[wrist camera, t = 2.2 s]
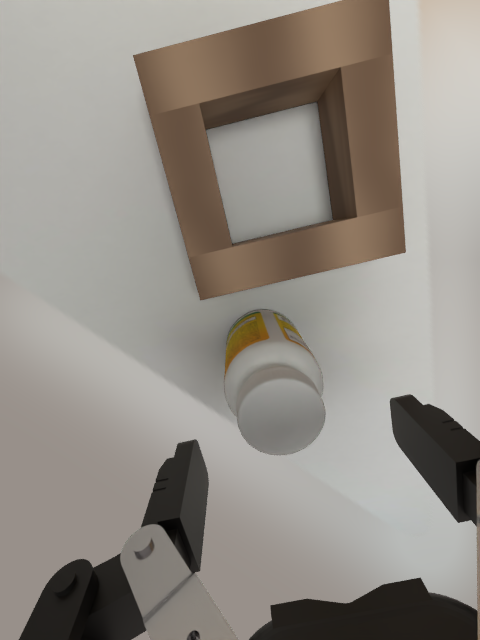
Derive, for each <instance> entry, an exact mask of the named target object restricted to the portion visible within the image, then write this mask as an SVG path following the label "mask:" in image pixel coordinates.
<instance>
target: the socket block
mask: <svg viewBox="0 0 480 640" xmlns="http://www.w3.org/2000/svg"><path fill="white" fill-rule="evenodd" d="M133 57H134V61H135V64H136V68H137V72H138V75H139V79H140V83H141V86H142V90H143V93H144V97H145V101H146V104H147V108H148V112H149V115H150V119H151V123H152V126H153V130H154V133H155V137H156V141H157V144H158V148H159V152H160V155H161V159H162V163H163V166H164V170H165V173H166V177H167V181H168V184H169V188H170V192H171V195H172V199H173V202H174V206H175V210H176V213H177V217H178V221H179V224H180V228H181V232H182V235H183V239H184V242H185V246H186V250H187V253H188V257H189V261H190V264H191V268H192V272H193V275H194V279H195V282H196V286H197V290H198V293H199V297H200V300H204V299H208V298H212V297H217V296H221V295H225V294H230V293H234V292H238V291H242V290H247V289H251V288H255V287H259V286H264V285H268V284H272V283H277V282H281V281H285V280H289V279H294V278H298V277H302V276H307V275H311V274H315V273H319V272H324V271H328V270H332V269H337V268H341V267H345V266H349V265H354V264H358V263H362V262H367V261H371V260H375V259H379V258H384V257H388V256H392V255H397V254H401V253H405V252H406V249H405V234H404V219H403V204H402V189H401V174H400V159H399V144H398V129H397V114H396V99H395V85H394V70H393V55H392V40H391V25H390V10H389V0H342V1H338V2H335V3H331V4H327V5H323V6H319V7H315V8H312V9H308V10H304V11H300V12H296V13H293V14H289V15H285V16H281V17H277V18H274V19H270V20H266V21H262V22H258V23H255V24H251V25H247V26H243V27H239V28H236V29H232V30H228V31H224V32H220V33H217V34H213V35H209V36H205V37H201V38H198V39H194V40H190V41H186V42H182V43H179V44H175V45H171V46H167V47H163V48H160V49H156V50H152V51H148V52H144V53H141V54H137V55H133ZM313 102H318V110H319V117H320V125H321V132H322V140H323V147H324V155H325V163H326V170H327V178H328V185H329V193H330V200H331V208H332V216H333V220H330V221H326V222H322V223H318V224H313V225H309V226H305V227H301V228H297V229H293V230H288V231H284V232H280V233H276V234H272V235H267V236H263V237H259V238H255V239H251V240H246V241H242V242H238V243H234V244H232V242H231V238H230V234H229V229H228V225H227V221H226V216H225V212H224V208H223V203H222V199H221V195H220V190H219V186H218V182H217V177H216V173H215V169H214V164H213V160H212V156H211V151H210V147H209V143H208V138H207V134H206V129H210V128H214V127H218V126H222V125H226V124H230V123H234V122H238V121H241V120H245V119H249V118H253V117H257V116H261V115H265V114H269V113H273V112H277V111H281V110H285V109H289V108H293V107H297V106H301V105H305V104H309V103H313Z"/></svg>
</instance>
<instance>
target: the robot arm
mask: <svg viewBox="0 0 480 640" xmlns="http://www.w3.org/2000/svg"><path fill="white" fill-rule="evenodd" d="M390 409H391V418H392V428H393V434H394V437H395V440H396V442H397V444H398V445H399V447H400V448H401V450H402V451H403V452H404V453H405V455H406V456H407V457H408V459H409V460H410V461H411V463H412V464H413V465H414V466H415V468H416V469H417V470H418V472H419V473H420V474H421V475H422V477H423V478H424V479H425V481H426V482H427V483H428V485H429V486H430V487H431V488H432V490H433V491H434V492H435V494H436V495H437V496H438V497H439V499H440V500H441V501H442V502H443V504H444V505H445V507H446V508H447V509H448V510H449V512H450V513H451V514H452V515H453V517H454V518H455V519H456V521H457V522H458V523H459V522H464V521H469V520H472V522H473V523H474V524H475V525H476V526H477V596H478V598H477V603H478V611H477V610H475V609H474V608H472V607H470V606H468V605H466V604H464V603H462V602H460V601H458V600H455V599H453V598H450V597H447V596H443V595H440V594H435V593H429V592H428V591H427V589H426V587H425V585H424V583H423V582H422V580H421V578H416V579H411V580H406V581H400V582H394V583H389V584H384V585H381V586H380V587H378V588H376V589H374V590H372V591H371V592H369V593H367V594H365V595H364V596H362V597H360V598H358V599H356V600H355V601H353V602H351V603H346V604H345V603H336V602H328V601H320V600H312V599H303V600H297V601H293V602H287V603H281V604H276V605H271V616H272V621H270V622H268V623H267V624H265V625H264V626H263V627H262V628H260V629H259V630H258V631H257V632H256V633H255V634H254V635H253V636H252V637H251V638H250V639H249V640H480V441H479V440H478V439H476V438H475V437H474V436H473V435H472V434H470V433H469V432H468V431H467V430H466V429H463V427H462V426H461V425H460V424H459V423H458V422H456V421H454V419H453V418H451V417H450V416H449V415H448V414H447V413H446V412H444V411H443V410H441V409H439V408H437V407H434V406H432V405H430V404H427V405H423V404H421V403H420V402H419V401H418V400H417V399H416V398H415V397H414V396H413V395H410V394H409V395H405V396H400V397H395V398H391V399H390ZM208 485H209V482H208V473H207V469H206V465H205V462H204V459H203V456H202V453H201V450H200V447H199V444H198V441H197V440H191V441H187V442H182V443H178V445H177V448H176V452H175V456H174V458H169V459H167V460H166V461H165V462H164V464H163V465H162V466H161V468H160V469H159V472H158V475H157V478H156V483H155V484H154V488H153V493H152V494H151V498H150V500H149V503H148V507H147V510H146V513H145V516H144V519H143V523H142V526H141V528H140V529H139V530H137V531H136V532H135V533H133V534H132V535H131V536H130V538H129V539H128V540H127V541H126V543H125V544H124V546H123V548H122V551H121V553H120V554H119V555H117V556H115V557H113V558H112V559H110V560H108V561H106V562H104V563H102V564H100V565H98V566H96V567H94V568H93V567H92V565H91V563H90V562H89V561H88V560H85V559H79V560H75V561H73V562H71V563H69V564H67V565H65V566H64V567H62V568H61V569H60V570H59V571H58V572H57V573H56V574H55V575H54V576H53V577H52V578H51V579H50V580H49V582H48V583H47V585H46V586H45V588H44V590H43V591H42V593H41V596H40V598H39V600H38V602H37V604H36V606H35V608H34V610H33V612H32V614H31V616H30V618H29V620H28V622H27V624H26V626H25V628H24V631H23V632H22V634H21V637H20V639H19V640H131V639H133V638H135V637H136V636H138V635H139V634H141V633H143V632H145V631H146V630H147V633H148V635H149V638H150V640H239V639H238V637H237V636H236V634H235V633H234V631H233V630H232V629H231V627H230V625H229V624H228V622H227V620H226V619H225V617H224V616H223V614H222V613H221V611H220V610H219V608H218V607H217V605H216V604H215V602H214V600H213V599H212V597H211V596H210V594H209V593H208V592H207V590H206V588H205V587H204V585H203V583H202V582H201V580H200V579H199V577H198V576H197V575H196V574H195V572H198V571H200V565H201V556H202V546H203V536H204V525H205V515H206V505H207V495H208Z"/></svg>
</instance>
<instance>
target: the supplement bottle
mask: <svg viewBox="0 0 480 640" xmlns="http://www.w3.org/2000/svg"><path fill="white" fill-rule="evenodd" d="M224 391H225V397H226V400H227V403H228V405H229V407H230V409H231V411H232V412H233V413H234V415H235V416H236V417H237V421H238V427H239V429H240V432H241V434H242V436H243V437H244V439H245V440H246V441H247V442H248V444H249V445H251V446H252V447H253V448H255V449H257V450H258V451H260V452H263V453H267V454H271V455H287V454H292V453H295V452H298V451H300V450H302V449H304V448H306V447H307V446H309V445H310V444H311V443H312V442H313V441H314V440H315V439H316V438H317V437H318V435H319V434H320V432H321V430H322V428H323V425H324V422H325V407H324V403H323V401H322V398H321V396H322V392H323V377H322V373H321V369H320V367H319V365H318V363H317V361H316V359H315V358H314V356H313V354H312V353H311V351H310V350H309V348H308V347H307V345H306V344H305V342H304V341H303V339H302V337H301V336H300V334H299V333H298V331H297V330H296V328H295V327H294V325H293V324H292V323H291V321H290V320H289V319H287V318H286V317H285V316H283V315H282V314H280V313H278V312H275V311H271V310H257V311H252V312H250V313H248V314H246V315H244V316H243V317H241V318H240V319H239V320H238V321H237V322H236V323H235V324H234V325H233V326H232V328H231V329H230V331H229V334H228V337H227V342H226V360H225V378H224Z"/></svg>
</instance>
